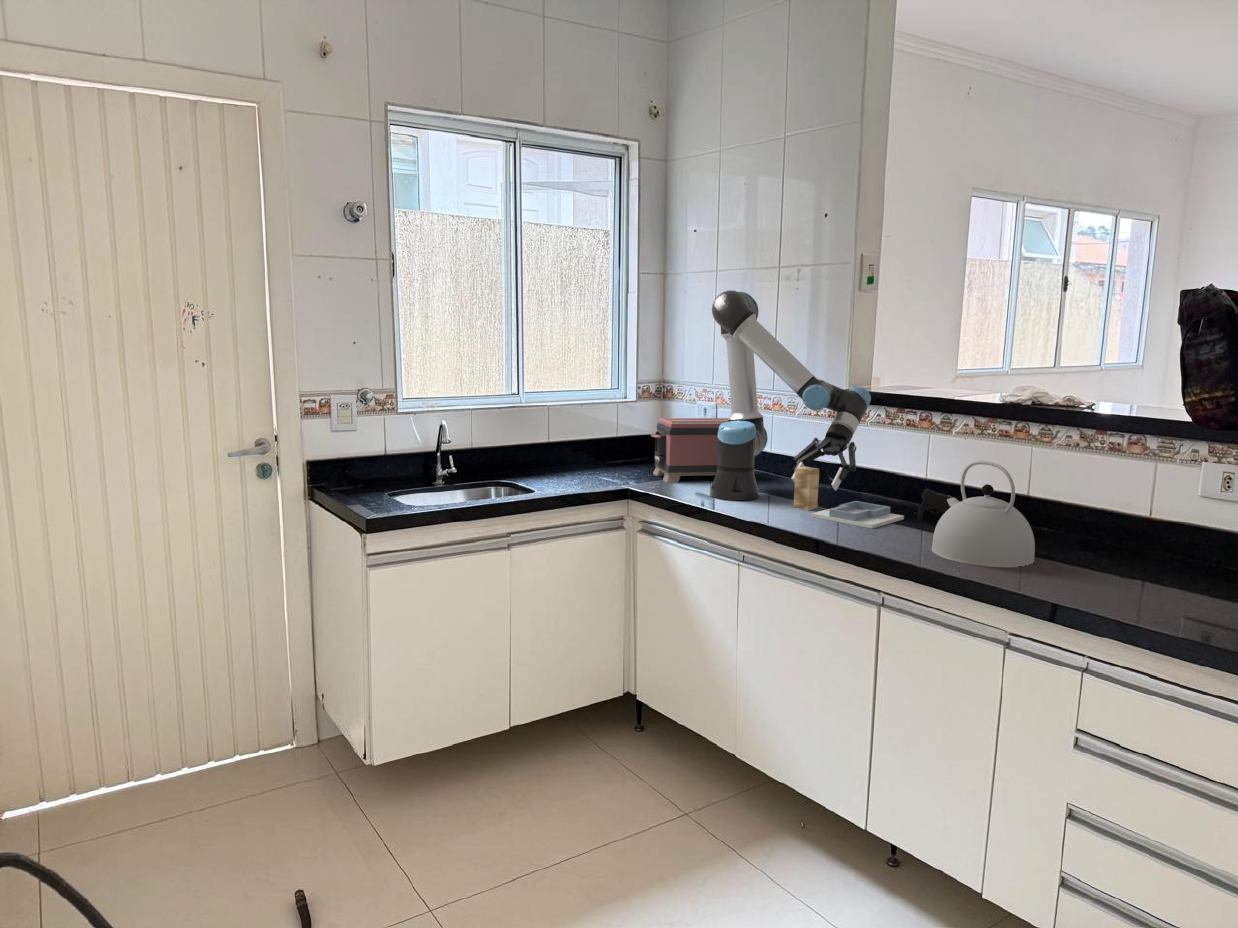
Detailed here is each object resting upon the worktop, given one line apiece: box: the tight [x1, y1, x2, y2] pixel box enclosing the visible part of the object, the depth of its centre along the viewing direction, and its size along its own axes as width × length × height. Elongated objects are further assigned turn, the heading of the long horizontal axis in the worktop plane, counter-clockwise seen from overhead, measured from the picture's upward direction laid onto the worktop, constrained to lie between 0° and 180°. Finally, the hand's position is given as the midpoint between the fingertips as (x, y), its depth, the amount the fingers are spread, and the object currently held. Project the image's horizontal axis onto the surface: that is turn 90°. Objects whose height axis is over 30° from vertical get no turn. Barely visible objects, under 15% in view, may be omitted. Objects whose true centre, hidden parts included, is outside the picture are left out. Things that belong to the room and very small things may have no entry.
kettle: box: [931, 460, 1036, 568], centre depth 201 cm, size 25×23×22 cm
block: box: [793, 466, 820, 511], centre depth 251 cm, size 5×5×12 cm
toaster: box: [650, 417, 728, 484], centre depth 300 cm, size 19×34×21 cm, turn 102°
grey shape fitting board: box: [810, 500, 905, 529], centre depth 239 cm, size 19×18×3 cm
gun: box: [917, 488, 961, 522], centre depth 236 cm, size 3×16×10 cm, turn 79°
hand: (813, 484), depth 251 cm, fingers open, 13 cm apart
